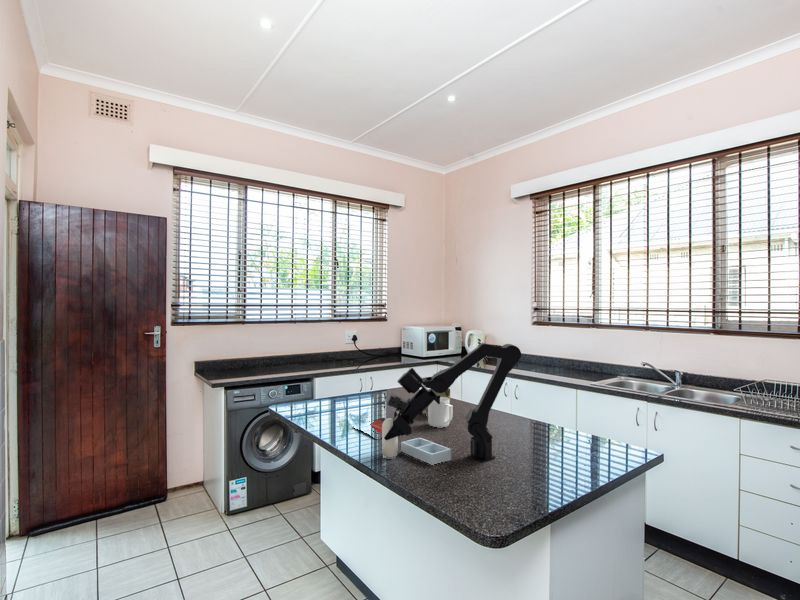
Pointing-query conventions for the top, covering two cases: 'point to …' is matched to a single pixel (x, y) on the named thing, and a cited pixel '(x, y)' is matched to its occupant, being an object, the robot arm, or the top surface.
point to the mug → (440, 413)
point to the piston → (444, 394)
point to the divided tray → (426, 450)
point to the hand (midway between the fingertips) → (385, 436)
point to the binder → (378, 424)
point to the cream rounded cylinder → (392, 444)
